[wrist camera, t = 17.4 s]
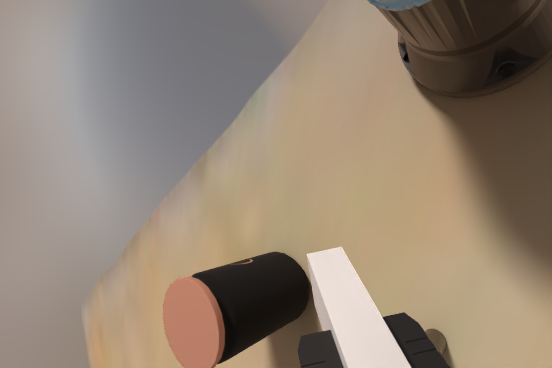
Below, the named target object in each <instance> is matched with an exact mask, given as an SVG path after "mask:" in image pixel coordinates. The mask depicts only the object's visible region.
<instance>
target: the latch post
mask: <svg viewBox="0 0 552 368" xmlns="http://www.w3.org/2000/svg"><path fill="white" fill-rule="evenodd" d="M425 333H426V334H427V336H428V338H429V339H430V340H431V342H432V343H433V344H434V346H435V347H436V349H437V351H439V353H440V354H441V355H442V353H443V351H444V349H445V347H446V339H445V337H444V335H443V334H442V333H441V332H439V331H438V330H435V329H428V330H426V331H425Z"/></svg>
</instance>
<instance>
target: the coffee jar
mask: <svg viewBox="0 0 552 368" xmlns="http://www.w3.org/2000/svg"><path fill="white" fill-rule="evenodd" d="M307 301H308V282H307V278H306V275H305V273H304V271H303V270H302V268H301V266H300V265H299V264H298V263H297V262H296V261H295V260H294V259H293V258H291V257H289V256H288V255H286V254H284V253H280V252H271V253H267V254H263V255H259V256H256V257H252V258H249V259H245V260H242V261H238V262H235V263H231V264H227V265H224V266H220V267H217V268H213V269H210V270H206V271H203V272H199V273H196V274H194V275H192V276H191V277H184V278H179V279H176V280H175V281H174V282H173V283H172V284H171V285H170V286H169V288H168V290H167V292H166V294H165V299H164V304H163V321H164V328H165V333H166V336H167V339H168V342H169V345H170V347H171V349H172V351H173V353H174V355H175V357H176V359H177V360H178V361H179V362H180V363H181V365H182V366H183V367H184V368H214V367H215V366H216V365H217V364H220V363H222V362H224V361H226V360H228V359H230V358H232V357H233V356H235V355H237V354H238V353H240V352H242V351H243V350H245V349H247V348H248V347H250V346H252V345H253V344H255V343H257V342H258V341H260V340H262V339H263V338H265V337H267V336H268V335H270V334H272V333H273V332H275V331H277V330H278V329H280V328H282V327H283V326H285V325H287V324H288V323H290V322H292V321H293V320H295V319H297V318H298V317H299V316H300V315H301V314H302V312H303V311H304V310H305V307H306V304H307Z"/></svg>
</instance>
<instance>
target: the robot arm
mask: <svg viewBox="0 0 552 368" xmlns="http://www.w3.org/2000/svg"><path fill="white" fill-rule="evenodd" d="M368 1H369V2H370V3H371V4H372V5H374V6H376V7H377V8H378V9H379V11H380V12H381V13H382V14H383V15H384V16H385V17H386V18H387V20H388V21H389V22H390V23H391V24H392V25H393V26H394V27H395V29H396V30H397V31H398V47H399V52H400V55H401V58H402V61H403V63H404V65H405V67H406V68H407V70H408V71H409V73H410V74H411V75H412V76H413V77H414V78H415V79H416V80H417V81H418V82H419V83H420V84H422V85H423V86H424V87H426V88H428V89H429V90H431V91H433V92H436V93H438V94H442V95H446V96H451V97H476V96H482V95H487V94H491V93H494V92H497V91H500V90H502V89H505V88H507V87H509V86H511V85H513V84H515V83H517V82H519V81H521V80H522V79H524V78H526V77H527V76H529V75H530V74H531V73H533V72H534V71H535V70H537V69H538V68H539V67H540V66H541V65H542V64H543V63H544V62H546V61H547V60H548V58H549V57H550V56H551V55H552V0H368ZM307 259H308V266H309V272H310V278H311V285H312V291H313V297H314V304H315V308H316V311H317V314H318V317H319V320H320V323H321V326H322V329H323V331H322V332H318V333H313V334H309V335H304V336H301V340H300V344H299V348H298V354H299V359H300V364H301V368H450V367H449V366H448V364H447V363H446V361H445V360H444V358H443V357H442V356H441V354H440V353H439V351H437V349H436V347H435V346H434V344H433V343H432V342H431V340H430V339H429V338H428V336H427V334H426V333H425V332H424V330H423V329H422V327H421V326H420V325H419V323H418V322H416V321H415V320H414V319H412V318H411V317H410V316H408V315H407V314H405V313H399V314H395V315H390V316H386V317H382V316H381V314H380V313H379V311H378V309H377V307H376V306H375V304H374V302H373V300H372V299H371V297H370V295H369V294H368V292H367V290H366V288H365V287H364V285H363V283H362V281H361V280H360V278H359V276H358V275H357V273H356V271H355V269H354V268H353V266H352V264H351V262H350V261H349V259H348V257H347V255H346V254H345V252H344V250H343V249H342V247H338V248H333V249H328V250H324V251H319V252H314V253H309V254H307Z"/></svg>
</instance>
